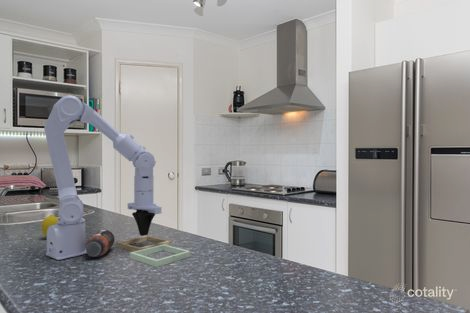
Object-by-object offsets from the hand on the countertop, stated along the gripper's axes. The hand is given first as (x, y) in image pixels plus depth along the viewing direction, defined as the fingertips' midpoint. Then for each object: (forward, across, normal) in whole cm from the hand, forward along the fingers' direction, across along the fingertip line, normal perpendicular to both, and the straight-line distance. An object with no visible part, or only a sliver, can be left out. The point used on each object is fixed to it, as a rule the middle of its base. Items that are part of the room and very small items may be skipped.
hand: (143, 234), depth 107 cm
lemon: (+4, +32, +14) cm, 35 cm away
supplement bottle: (+1, +7, +9) cm, 11 cm away
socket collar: (+3, 0, 0) cm, 3 cm away
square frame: (+3, -13, +4) cm, 14 cm away
